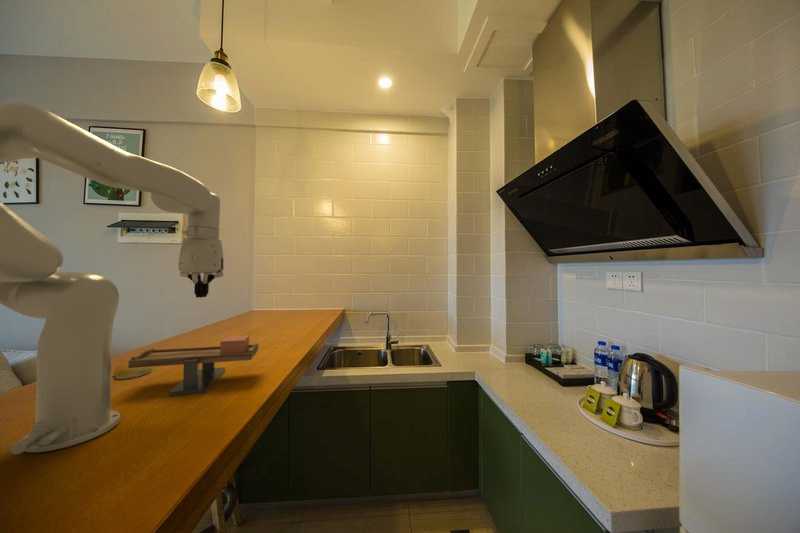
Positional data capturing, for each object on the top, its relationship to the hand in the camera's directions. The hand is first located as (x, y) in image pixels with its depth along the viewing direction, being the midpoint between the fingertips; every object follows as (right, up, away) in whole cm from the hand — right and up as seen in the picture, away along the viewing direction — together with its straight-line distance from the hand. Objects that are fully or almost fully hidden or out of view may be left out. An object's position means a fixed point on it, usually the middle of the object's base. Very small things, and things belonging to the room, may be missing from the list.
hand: (201, 296), depth 80 cm
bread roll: (-24, -24, +4) cm, 34 cm away
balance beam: (+1, -17, -2) cm, 17 cm away
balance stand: (+1, -24, -2) cm, 24 cm away
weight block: (+9, -16, +1) cm, 19 cm away
